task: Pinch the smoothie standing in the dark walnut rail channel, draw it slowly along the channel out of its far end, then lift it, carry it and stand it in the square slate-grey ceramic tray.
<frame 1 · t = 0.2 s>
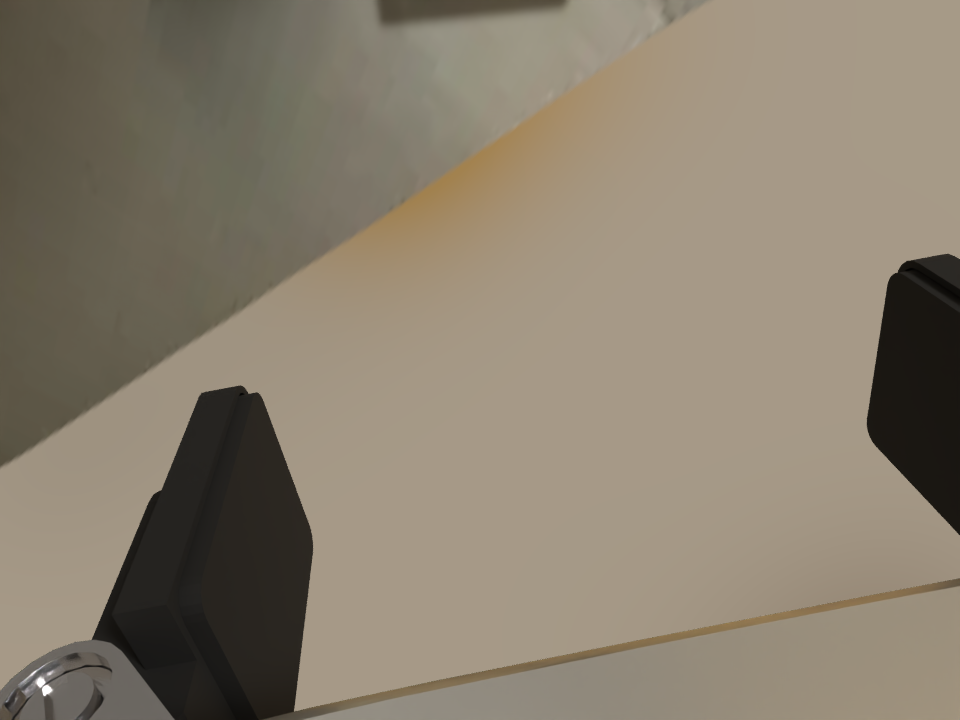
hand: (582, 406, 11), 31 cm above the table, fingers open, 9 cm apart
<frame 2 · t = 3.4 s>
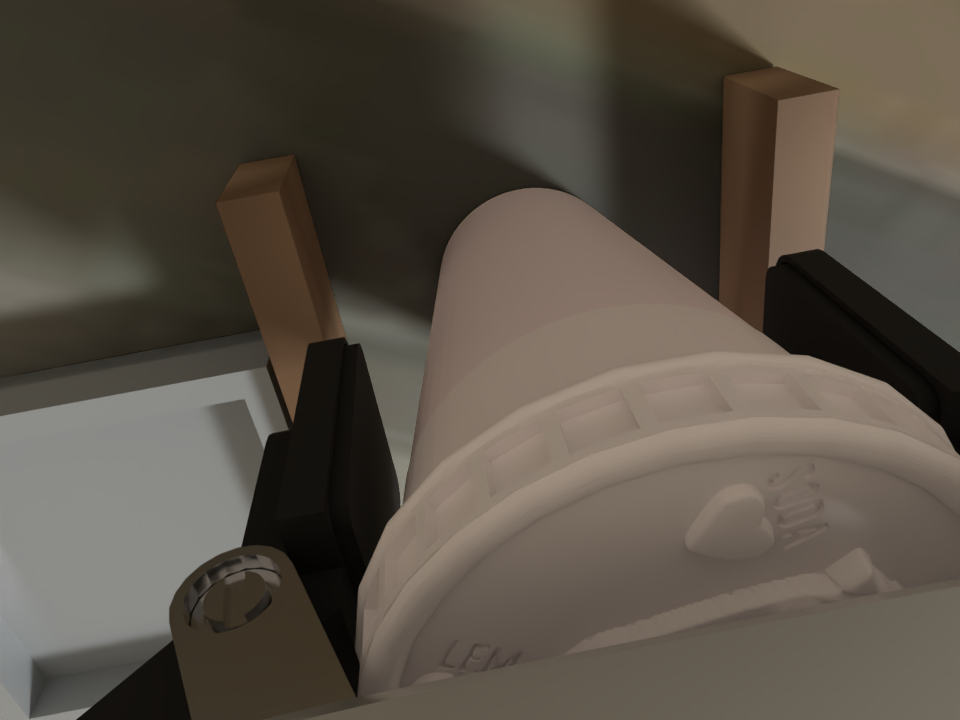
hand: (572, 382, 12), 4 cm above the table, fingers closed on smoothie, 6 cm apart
beam: (530, 275, 15), on the table
tray: (144, 527, 17), on the table
smoothie: (528, 271, 15), on the table, touching gripper
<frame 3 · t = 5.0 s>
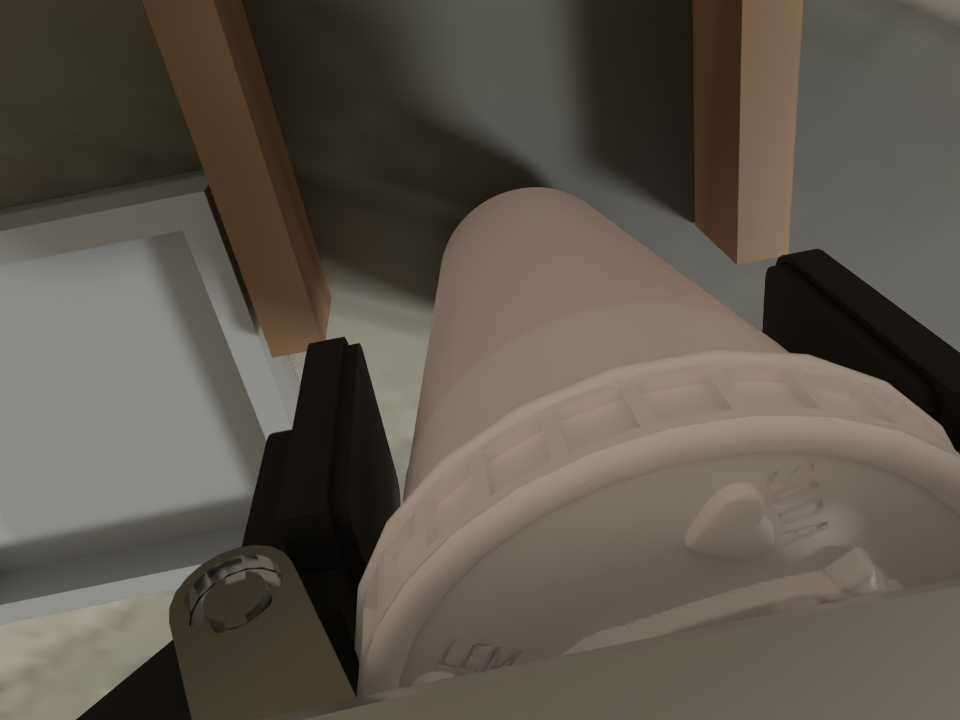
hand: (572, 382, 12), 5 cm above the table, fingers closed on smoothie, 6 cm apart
beam: (490, 107, 14), on the table
tray: (92, 401, 16), on the table
smoothie: (528, 270, 15), point 1 cm above the table, touching gripper
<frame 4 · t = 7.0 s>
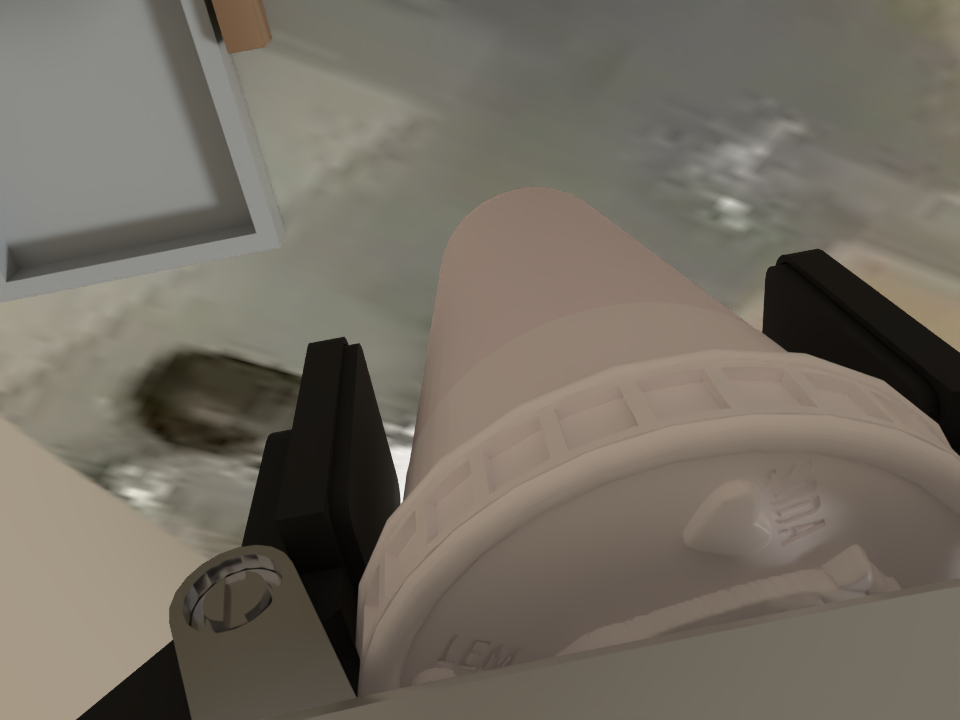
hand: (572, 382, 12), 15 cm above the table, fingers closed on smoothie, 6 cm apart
tray: (95, 120, 22), on the table
smoothie: (528, 270, 15), point 11 cm above the table, touching gripper
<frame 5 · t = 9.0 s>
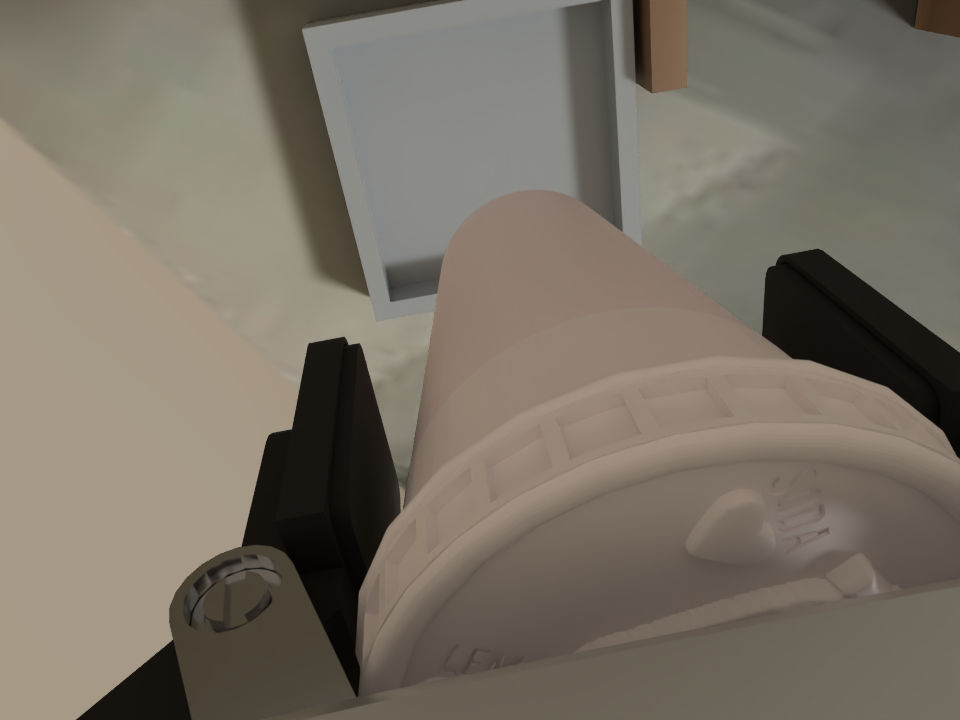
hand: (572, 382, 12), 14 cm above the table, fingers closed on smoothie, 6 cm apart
tray: (484, 150, 23), on the table
smoothie: (528, 273, 15), point 10 cm above the table, touching gripper
when the fingers open (6 cm above the table, at t = 10.8 s): smoothie drops 1 cm, resting on tray.
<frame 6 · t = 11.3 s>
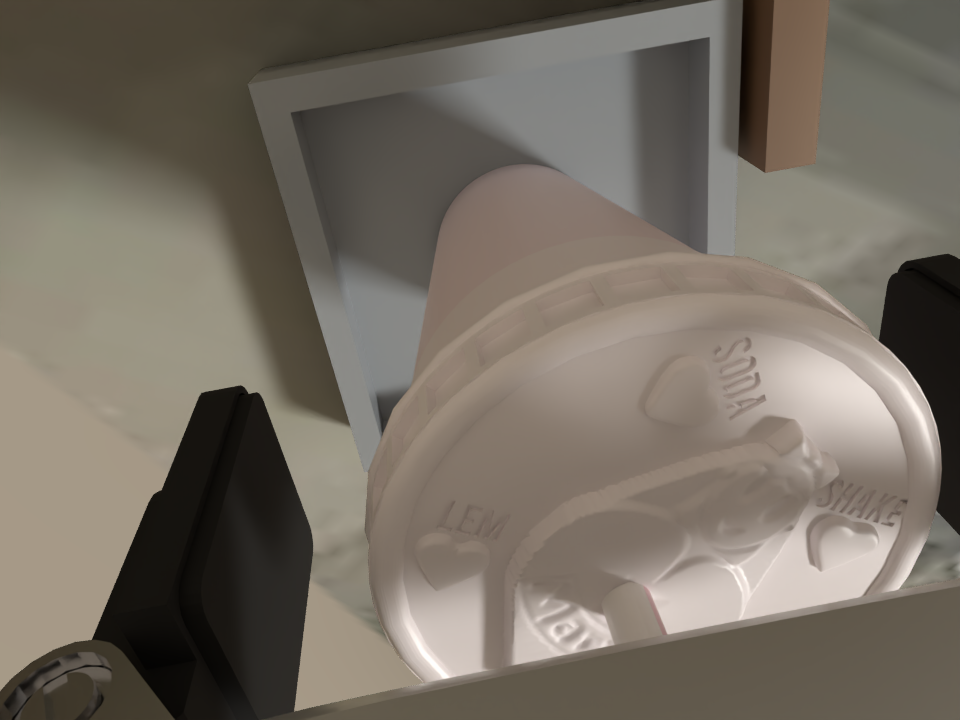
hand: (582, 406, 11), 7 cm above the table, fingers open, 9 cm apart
tray: (514, 240, 17), on the table
smoothie: (519, 243, 16), resting on tray
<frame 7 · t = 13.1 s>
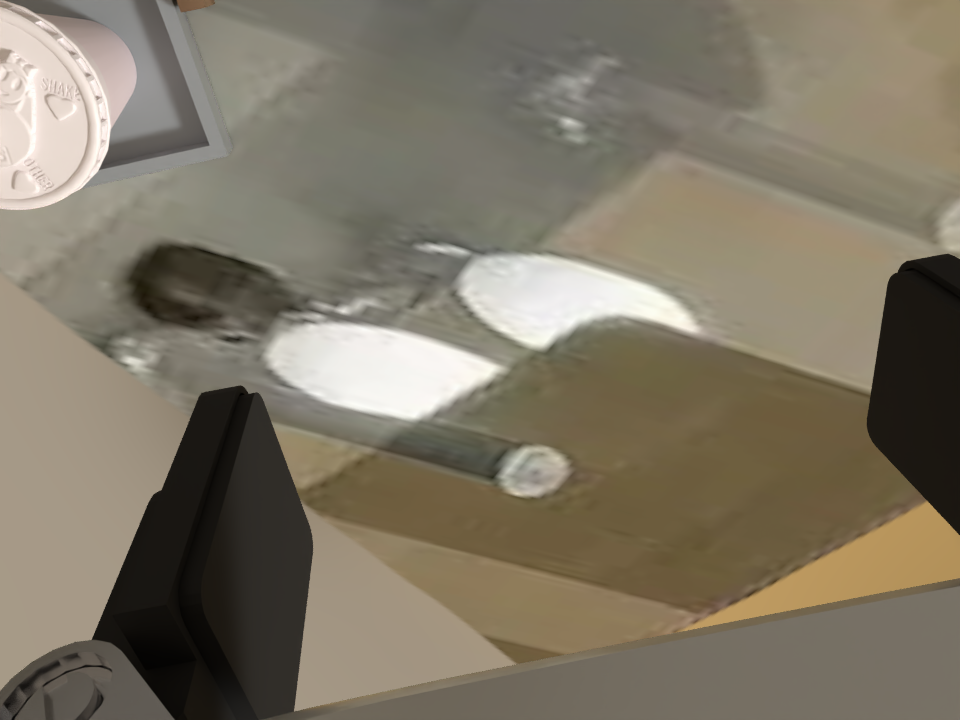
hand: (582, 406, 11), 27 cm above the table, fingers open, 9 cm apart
tray: (93, 66, 31), on the table
smoothie: (91, 66, 31), resting on tray
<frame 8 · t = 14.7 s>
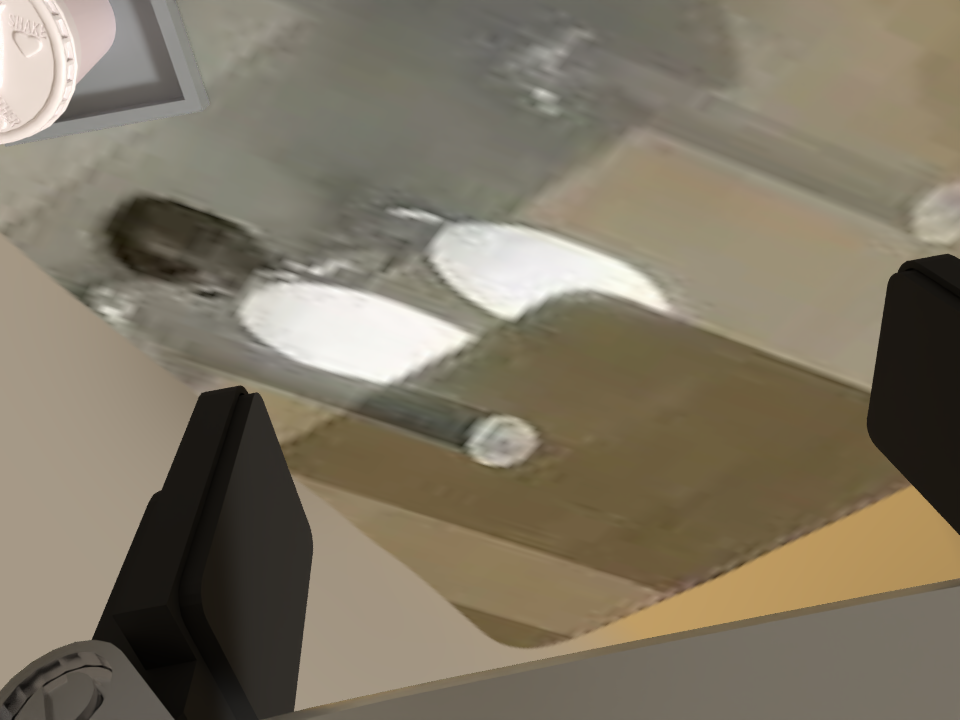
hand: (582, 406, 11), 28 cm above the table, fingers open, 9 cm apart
tray: (74, 17, 32), on the table
smoothie: (72, 16, 32), resting on tray
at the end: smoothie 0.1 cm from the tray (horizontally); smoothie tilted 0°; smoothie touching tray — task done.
